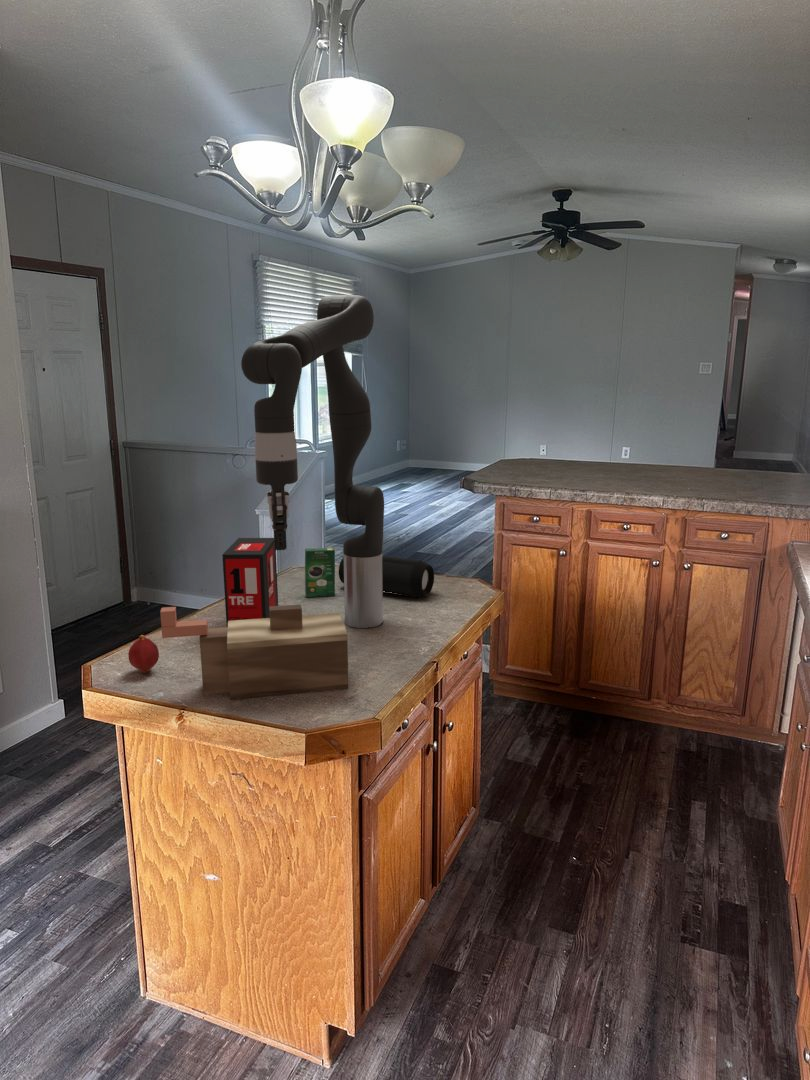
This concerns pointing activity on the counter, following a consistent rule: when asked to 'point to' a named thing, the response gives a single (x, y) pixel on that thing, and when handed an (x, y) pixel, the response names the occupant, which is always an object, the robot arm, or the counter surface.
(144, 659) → the onion
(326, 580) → the coffee box
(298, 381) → the robot arm
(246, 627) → the lid
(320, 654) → the brown open box piece
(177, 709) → the counter surface
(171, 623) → the l-shaped block
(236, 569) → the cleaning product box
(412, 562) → the portable speaker
